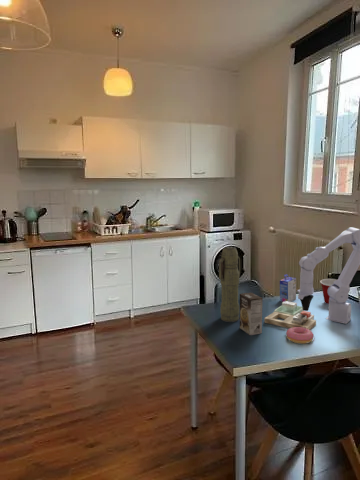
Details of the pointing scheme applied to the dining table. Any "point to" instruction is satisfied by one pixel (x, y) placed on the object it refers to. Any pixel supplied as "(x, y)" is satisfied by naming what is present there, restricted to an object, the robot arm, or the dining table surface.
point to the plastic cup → (326, 288)
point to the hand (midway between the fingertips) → (305, 310)
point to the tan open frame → (287, 321)
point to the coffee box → (251, 313)
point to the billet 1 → (289, 307)
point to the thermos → (229, 284)
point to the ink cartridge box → (287, 289)
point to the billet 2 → (300, 319)
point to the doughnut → (299, 335)
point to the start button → (306, 313)
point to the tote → (299, 310)
